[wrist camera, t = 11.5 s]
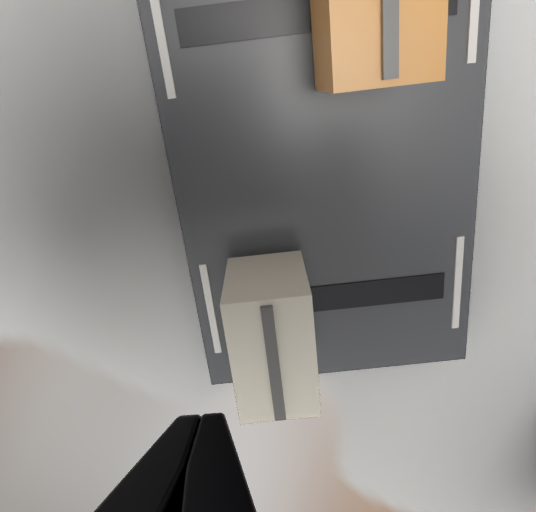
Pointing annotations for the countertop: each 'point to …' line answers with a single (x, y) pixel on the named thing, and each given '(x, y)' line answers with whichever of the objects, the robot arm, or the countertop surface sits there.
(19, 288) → the countertop surface
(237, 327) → the block
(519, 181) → the countertop surface
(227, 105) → the console
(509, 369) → the countertop surface
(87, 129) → the countertop surface
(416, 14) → the orange fader
